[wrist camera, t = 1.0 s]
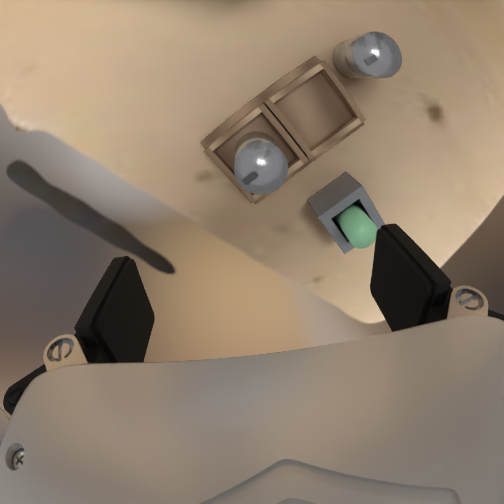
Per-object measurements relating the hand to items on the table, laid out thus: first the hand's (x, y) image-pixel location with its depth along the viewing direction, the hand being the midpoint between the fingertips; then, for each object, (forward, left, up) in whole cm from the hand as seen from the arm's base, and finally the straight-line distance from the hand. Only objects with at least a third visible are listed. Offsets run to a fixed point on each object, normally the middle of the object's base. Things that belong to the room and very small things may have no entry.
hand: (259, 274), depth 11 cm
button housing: (-5, +12, -23) cm, 26 cm away
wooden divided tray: (-5, +1, -23) cm, 23 cm away
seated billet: (-1, +1, -22) cm, 22 cm away
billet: (-16, -1, -23) cm, 28 cm away
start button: (-5, +12, -21) cm, 24 cm away
